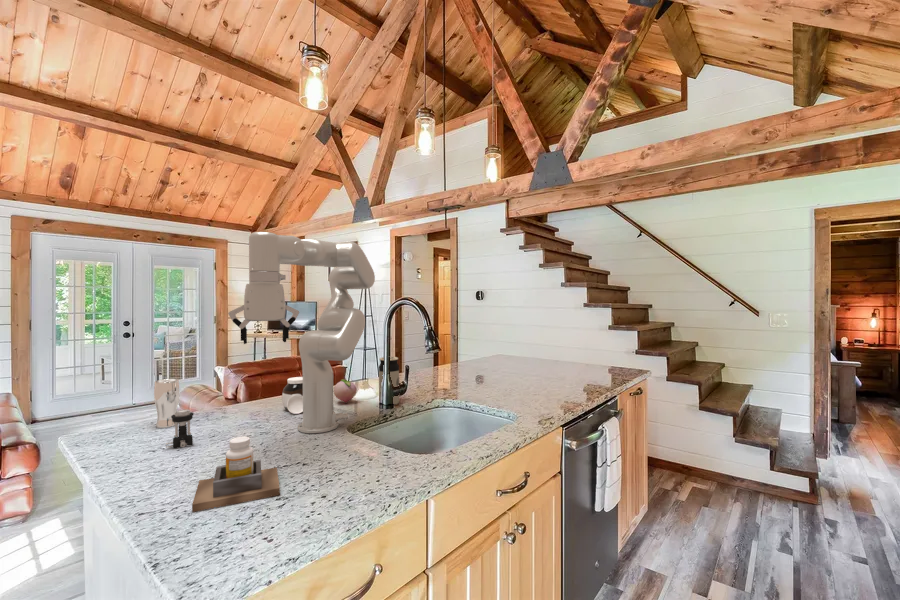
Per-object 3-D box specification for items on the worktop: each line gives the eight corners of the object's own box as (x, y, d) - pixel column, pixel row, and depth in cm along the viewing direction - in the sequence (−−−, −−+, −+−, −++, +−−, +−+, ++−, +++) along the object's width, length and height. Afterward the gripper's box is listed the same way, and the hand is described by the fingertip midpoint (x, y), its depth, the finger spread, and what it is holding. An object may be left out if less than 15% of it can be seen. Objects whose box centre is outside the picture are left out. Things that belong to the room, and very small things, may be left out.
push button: (165, 451, 114) (165, 415, 113) (165, 446, 118) (165, 411, 118) (194, 446, 117) (193, 411, 117) (193, 441, 122) (193, 407, 122)
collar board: (276, 473, 99) (276, 454, 99) (279, 495, 88) (279, 474, 88) (199, 487, 92) (199, 467, 92) (192, 512, 81) (192, 489, 81)
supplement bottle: (233, 478, 93) (232, 435, 93) (257, 477, 93) (257, 434, 93) (221, 489, 88) (221, 444, 88) (247, 488, 88) (247, 443, 88)
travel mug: (375, 404, 163) (375, 359, 163) (385, 399, 170) (385, 356, 170) (393, 406, 160) (392, 360, 160) (402, 401, 167) (402, 357, 167)
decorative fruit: (329, 402, 166) (329, 377, 166) (348, 399, 172) (347, 375, 171) (341, 407, 159) (340, 381, 159) (359, 403, 165) (359, 378, 165)
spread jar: (302, 404, 163) (302, 375, 163) (320, 409, 156) (320, 378, 156) (274, 411, 153) (274, 380, 153) (292, 416, 147) (292, 384, 147)
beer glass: (184, 423, 139) (184, 379, 139) (164, 429, 133) (164, 383, 133) (169, 421, 142) (169, 377, 141) (149, 427, 135) (148, 381, 135)
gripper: (297, 279, 118) (298, 339, 118) (228, 279, 110) (229, 342, 110) (300, 278, 111) (300, 342, 111) (227, 277, 103) (227, 345, 104)
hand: (265, 342), depth 111 cm, fingers open, 9 cm apart
